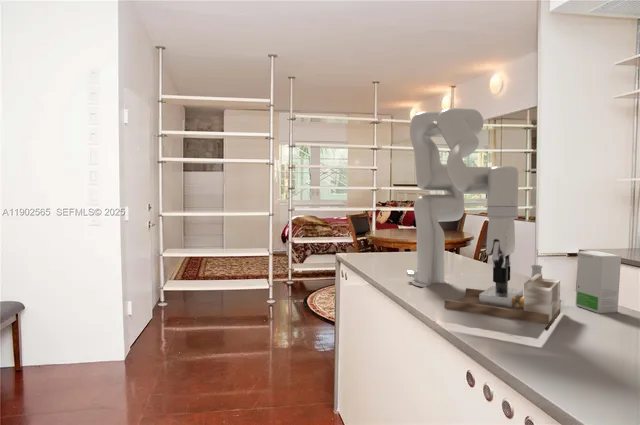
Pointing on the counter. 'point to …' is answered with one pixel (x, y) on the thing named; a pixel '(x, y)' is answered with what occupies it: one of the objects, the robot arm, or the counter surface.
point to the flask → (536, 270)
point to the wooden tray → (537, 307)
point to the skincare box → (598, 281)
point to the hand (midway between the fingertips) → (501, 280)
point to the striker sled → (501, 294)
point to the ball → (521, 303)
